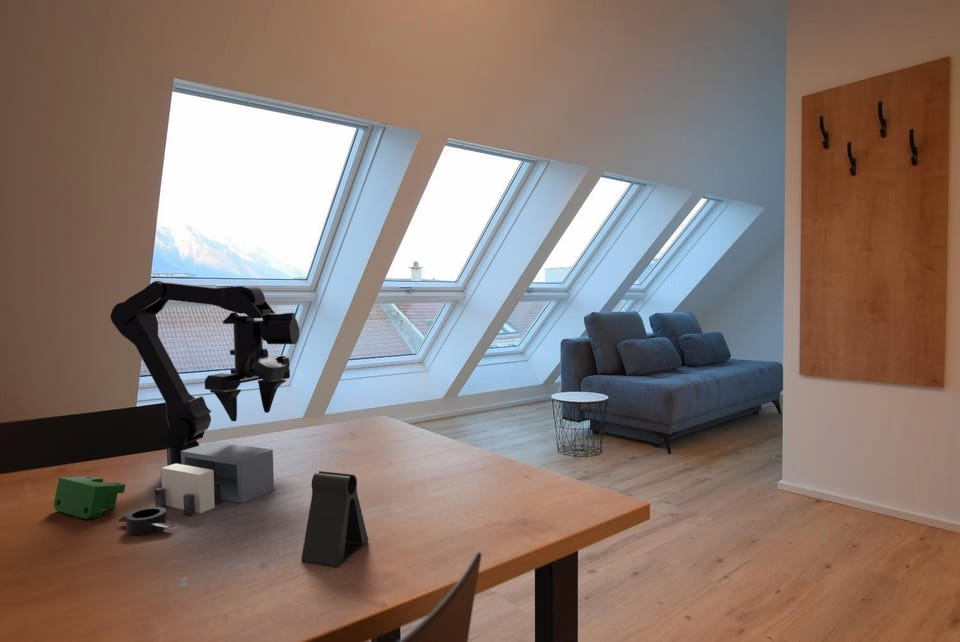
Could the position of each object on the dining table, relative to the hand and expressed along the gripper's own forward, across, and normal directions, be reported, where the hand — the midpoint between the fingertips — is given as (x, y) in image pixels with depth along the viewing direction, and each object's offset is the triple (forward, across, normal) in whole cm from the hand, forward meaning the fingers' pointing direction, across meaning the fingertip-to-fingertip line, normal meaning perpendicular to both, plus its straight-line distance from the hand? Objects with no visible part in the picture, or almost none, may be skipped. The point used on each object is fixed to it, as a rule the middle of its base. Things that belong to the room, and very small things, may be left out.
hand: (250, 416), depth 129 cm
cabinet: (+12, -11, -5) cm, 17 cm away
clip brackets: (+12, -20, -5) cm, 24 cm away
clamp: (+12, -28, +10) cm, 32 cm away
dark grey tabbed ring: (+12, -30, -8) cm, 33 cm away
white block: (+12, -20, -5) cm, 24 cm away
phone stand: (+12, -24, -42) cm, 50 cm away
